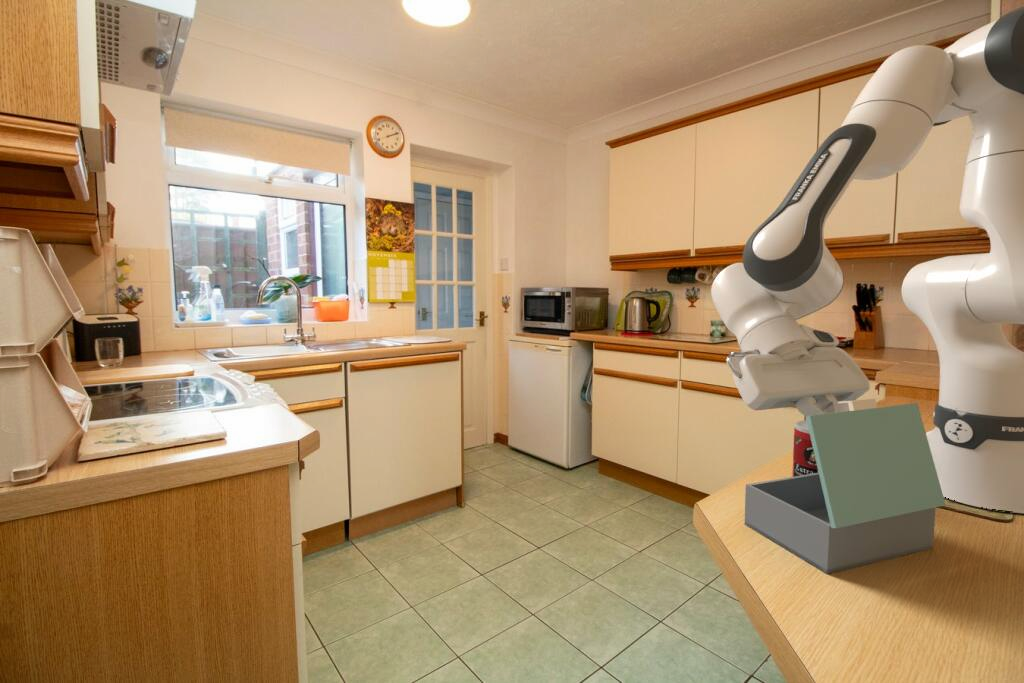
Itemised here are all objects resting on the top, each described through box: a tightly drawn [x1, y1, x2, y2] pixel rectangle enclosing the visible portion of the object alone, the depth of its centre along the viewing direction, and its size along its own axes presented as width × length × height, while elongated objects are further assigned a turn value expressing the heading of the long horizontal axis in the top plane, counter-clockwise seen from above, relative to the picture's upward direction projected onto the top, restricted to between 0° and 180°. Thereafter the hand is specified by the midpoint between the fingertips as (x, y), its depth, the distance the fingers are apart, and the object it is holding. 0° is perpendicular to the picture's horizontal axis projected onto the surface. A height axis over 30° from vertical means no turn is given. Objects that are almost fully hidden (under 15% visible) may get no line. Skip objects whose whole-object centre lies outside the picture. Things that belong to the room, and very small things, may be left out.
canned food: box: [792, 419, 819, 477], centre depth 80 cm, size 8×8×11 cm
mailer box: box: [744, 473, 937, 575], centre depth 65 cm, size 18×13×6 cm
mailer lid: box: [805, 398, 947, 528], centre depth 59 cm, size 18×14×1 cm
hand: (834, 428), depth 65 cm, fingers closed
